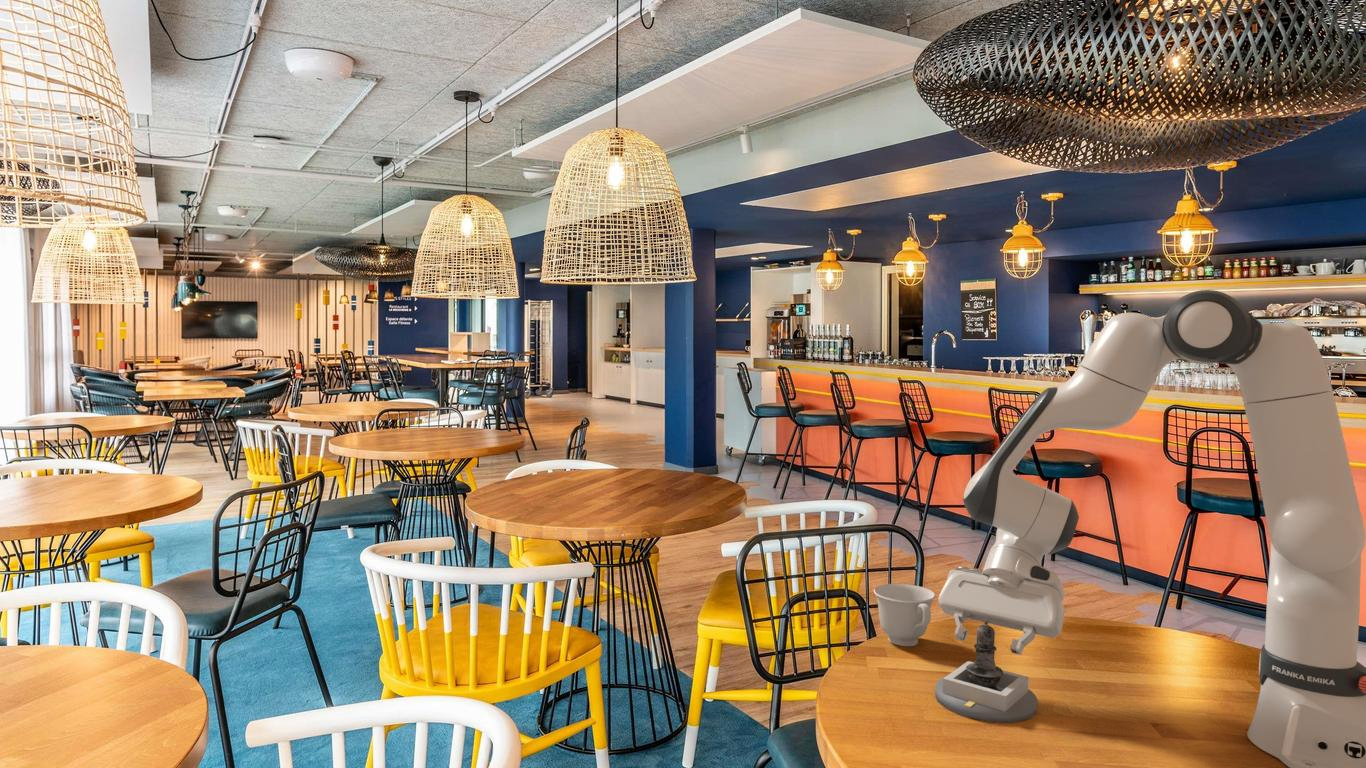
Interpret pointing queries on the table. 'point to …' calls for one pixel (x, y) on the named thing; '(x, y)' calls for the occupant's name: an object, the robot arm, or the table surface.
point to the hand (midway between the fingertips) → (986, 645)
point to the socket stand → (987, 697)
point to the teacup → (904, 612)
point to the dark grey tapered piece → (985, 660)
